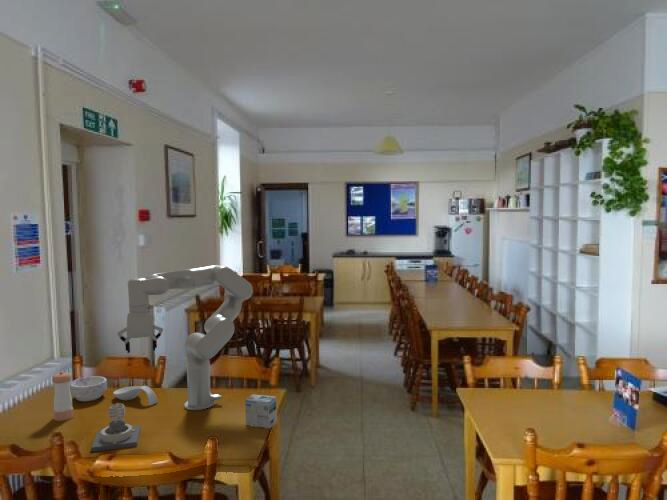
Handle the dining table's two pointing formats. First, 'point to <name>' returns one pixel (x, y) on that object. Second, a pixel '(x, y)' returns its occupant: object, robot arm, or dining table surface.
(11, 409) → the dining table surface
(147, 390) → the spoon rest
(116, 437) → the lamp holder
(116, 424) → the light bulb
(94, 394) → the marbled white bowl
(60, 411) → the salt shaker
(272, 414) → the light bulb box
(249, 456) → the dining table surface
